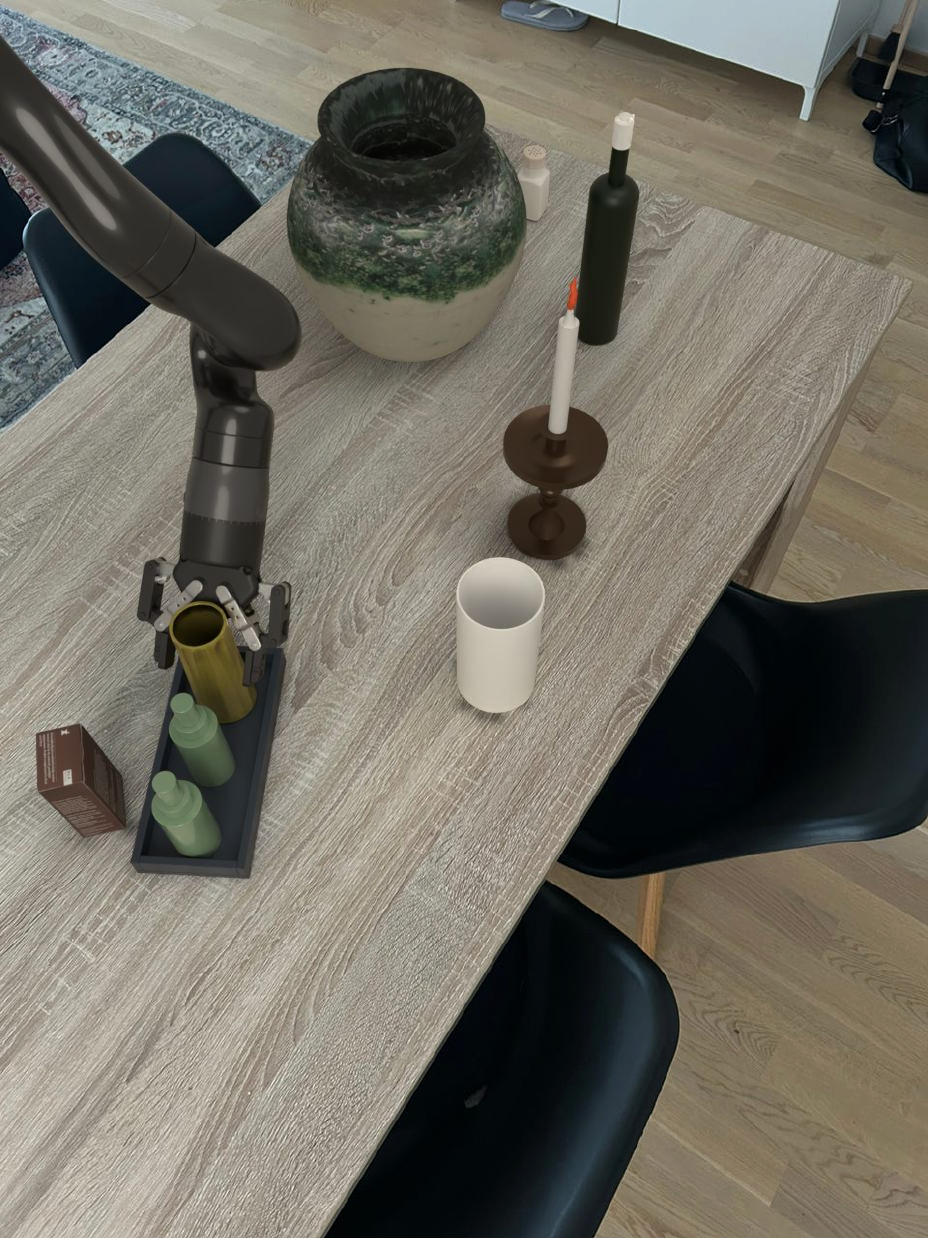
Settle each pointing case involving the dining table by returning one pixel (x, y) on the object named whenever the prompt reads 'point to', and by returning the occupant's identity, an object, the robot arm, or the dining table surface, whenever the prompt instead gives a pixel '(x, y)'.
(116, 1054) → the dining table surface
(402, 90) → the vase
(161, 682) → the dining table surface
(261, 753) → the tray
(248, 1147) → the dining table surface
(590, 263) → the wine bottle
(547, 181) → the pepper shaker
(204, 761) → the bottles
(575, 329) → the candlestick
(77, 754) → the box
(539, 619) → the cup
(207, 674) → the vase
